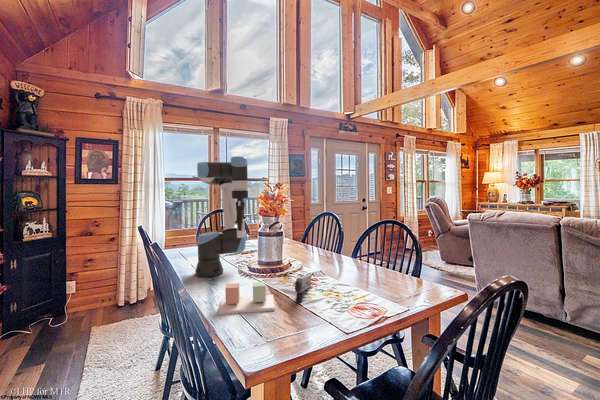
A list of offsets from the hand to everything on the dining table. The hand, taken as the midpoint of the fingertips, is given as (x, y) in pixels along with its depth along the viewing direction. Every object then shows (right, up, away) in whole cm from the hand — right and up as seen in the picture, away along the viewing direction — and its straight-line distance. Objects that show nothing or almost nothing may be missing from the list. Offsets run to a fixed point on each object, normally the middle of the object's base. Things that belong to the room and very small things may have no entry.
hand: (241, 235), depth 142 cm
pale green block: (+11, -25, -15) cm, 31 cm away
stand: (+6, -28, -16) cm, 32 cm away
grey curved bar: (+30, -27, -4) cm, 40 cm away
